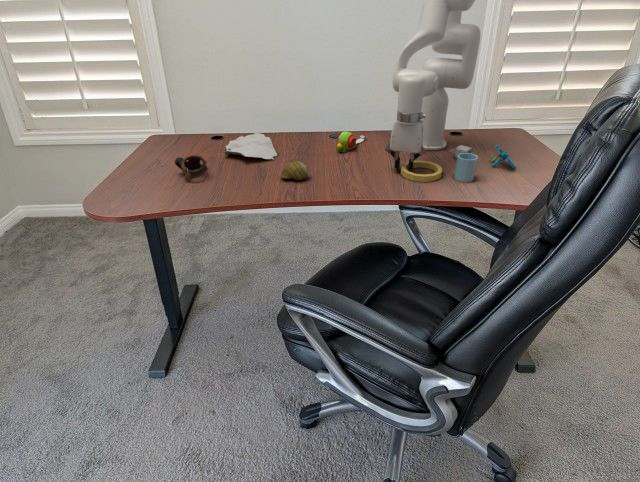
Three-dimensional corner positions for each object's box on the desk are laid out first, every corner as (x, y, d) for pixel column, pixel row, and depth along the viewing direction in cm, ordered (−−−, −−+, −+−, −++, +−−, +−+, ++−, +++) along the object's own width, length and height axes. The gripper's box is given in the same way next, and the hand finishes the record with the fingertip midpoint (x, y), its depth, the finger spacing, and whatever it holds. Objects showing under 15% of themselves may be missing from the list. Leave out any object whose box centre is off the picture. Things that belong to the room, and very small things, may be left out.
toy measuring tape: (330, 152, 161) (330, 135, 158) (357, 137, 175) (357, 121, 171) (345, 155, 158) (345, 138, 155) (370, 140, 171) (371, 124, 168)
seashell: (284, 191, 142) (283, 181, 135) (277, 173, 144) (276, 162, 136) (311, 182, 144) (312, 171, 136) (304, 164, 146) (304, 153, 138)
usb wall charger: (465, 161, 152) (467, 150, 150) (447, 156, 156) (449, 146, 154) (470, 158, 154) (472, 147, 152) (453, 153, 158) (454, 143, 156)
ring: (398, 179, 139) (399, 173, 138) (403, 164, 150) (404, 159, 149) (439, 183, 136) (440, 178, 135) (442, 168, 147) (443, 162, 146)
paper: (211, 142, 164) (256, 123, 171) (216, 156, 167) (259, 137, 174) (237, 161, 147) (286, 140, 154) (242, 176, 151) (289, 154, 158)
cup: (450, 178, 140) (454, 156, 136) (460, 172, 143) (464, 151, 139) (467, 183, 136) (471, 161, 132) (477, 178, 139) (481, 156, 135)
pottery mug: (214, 171, 148) (211, 156, 141) (203, 192, 144) (199, 178, 136) (182, 160, 149) (177, 145, 141) (169, 181, 144) (164, 166, 137)
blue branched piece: (520, 169, 141) (501, 146, 139) (504, 180, 143) (485, 158, 142) (513, 161, 151) (495, 139, 149) (498, 171, 153) (481, 151, 151)
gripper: (436, 115, 135) (429, 168, 145) (384, 111, 139) (381, 164, 149) (434, 121, 129) (427, 177, 139) (380, 118, 133) (377, 172, 143)
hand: (403, 170), depth 144 cm, fingers open, 3 cm apart
